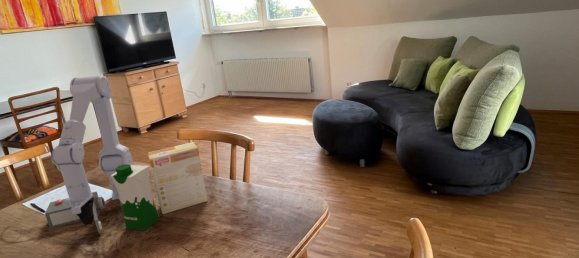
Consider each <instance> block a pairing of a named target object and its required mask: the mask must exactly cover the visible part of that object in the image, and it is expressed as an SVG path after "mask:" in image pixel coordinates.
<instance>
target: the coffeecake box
mask: <svg viewBox="0 0 579 258" xmlns="http://www.w3.org/2000/svg"><path fill="white" fill-rule="evenodd" d="M147 157H148V160H149V165H150V166H149V167H150V169H151V172H152V178H153V182H154V186H155V191H156V195H157V199H158V203H159V206H160V207H159V208H160V211H161V215H165V214H168V213H172V212H175V211H178V210H183V209H185V208H189V207H192V206H195V205H199V204H202V203H206V202H208V201H209V200H208V195H207V190H206V184H205V179H204V175H203V167H202V164H201V163H202V162H201V160H200V159H201V158H200V153H199V149H198V146H197V145H196V144H195V142H194V141H192V142H186V143H183V144H179V145H174V146H170V147H166V148H162V149H158V150H153V151H149V152H147Z"/></svg>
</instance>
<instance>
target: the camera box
mask: <svg viewBox="0 0 579 258" xmlns="http://www.w3.org/2000/svg"><path fill="white" fill-rule="evenodd" d="M91 192H92V191H91ZM92 195H93V197H94V203H95V206H96V210H97V213H98V218H99V217H100V213H101V210H102V209H103V210H104V209H105V206H106V201H105V199H104V197H103V196H99V195H98V192H97V191H93V192H92ZM66 199H67V198H63V199H62V198H61V199H57V200H54V201H50V202H49V205H48V206H47V208H46V211H45V213H44V215H45V218H46V221H47V224H48V227H49V229H51V230H52V229H55V228H59V227H63V226H68V225H70V224H75V223H78V222H82V221H81V219H80V218H79V217H78V216H77V215H76V214H75V215H73V214H72V211H71V204H70V203H66V201H65V200H66ZM93 219H94V214H93Z"/></svg>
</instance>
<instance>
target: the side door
mask: <svg viewBox="0 0 579 258" xmlns="http://www.w3.org/2000/svg"><path fill="white" fill-rule="evenodd" d="M93 214H94V218H93V220H94V222H95V226H96V229H97V232H98V234H101V233H102V229H103V226H102V222H101V221H100V218H99V217H98V213H97V210H96V206H95V203H93Z"/></svg>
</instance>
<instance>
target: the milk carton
mask: <svg viewBox="0 0 579 258" xmlns="http://www.w3.org/2000/svg"><path fill="white" fill-rule="evenodd" d="M110 177H111V179H112V181H113V183H114V184H115V186H116V188H117V192H118V196H119V199H118V200H119V202H120V207H121V210H122V215H123V220H124V224H125V229H126V230H132V231H133V230H134V231H135V230H136V231H141V232H146V230H148V229H149V228H150V227H151V226H153V224H154V223H156V222H157V221H158V220H160V215H159V213H158V210H157V207H156V203H155V200H154V195H153V190H152V187H151V182H150V166H149V165H138V164H133V165H129V164H125V165H121V166H118V167H117V168H116V172H115V173H114V174H112V175H111V176H110Z"/></svg>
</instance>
